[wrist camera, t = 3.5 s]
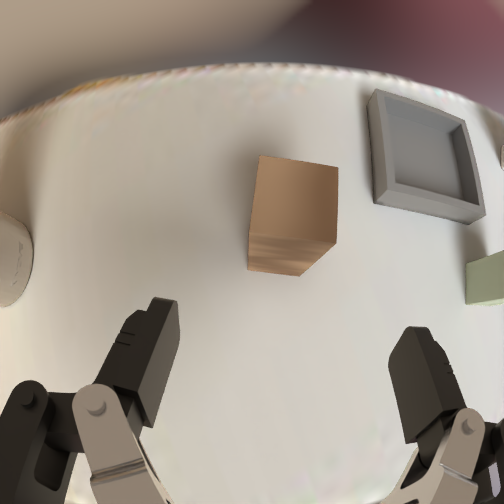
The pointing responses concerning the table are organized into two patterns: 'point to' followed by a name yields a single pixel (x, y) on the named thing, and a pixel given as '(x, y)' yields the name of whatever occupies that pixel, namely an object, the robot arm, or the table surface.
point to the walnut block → (292, 215)
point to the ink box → (502, 157)
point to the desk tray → (422, 160)
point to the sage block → (485, 281)
